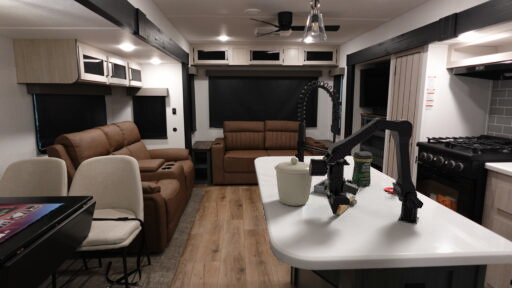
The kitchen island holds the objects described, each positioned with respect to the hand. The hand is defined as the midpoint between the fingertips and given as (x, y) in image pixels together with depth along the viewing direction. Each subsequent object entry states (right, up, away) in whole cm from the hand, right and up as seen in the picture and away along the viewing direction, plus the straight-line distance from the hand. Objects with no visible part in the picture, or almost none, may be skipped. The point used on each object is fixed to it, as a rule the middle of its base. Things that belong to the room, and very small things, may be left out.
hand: (334, 214), depth 113 cm
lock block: (+9, +3, +34) cm, 35 cm away
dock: (+10, +3, +29) cm, 31 cm away
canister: (-14, +1, +19) cm, 23 cm away
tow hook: (+40, +3, +34) cm, 52 cm away
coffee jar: (+27, +5, +45) cm, 53 cm away
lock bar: (+8, 0, +11) cm, 14 cm away
